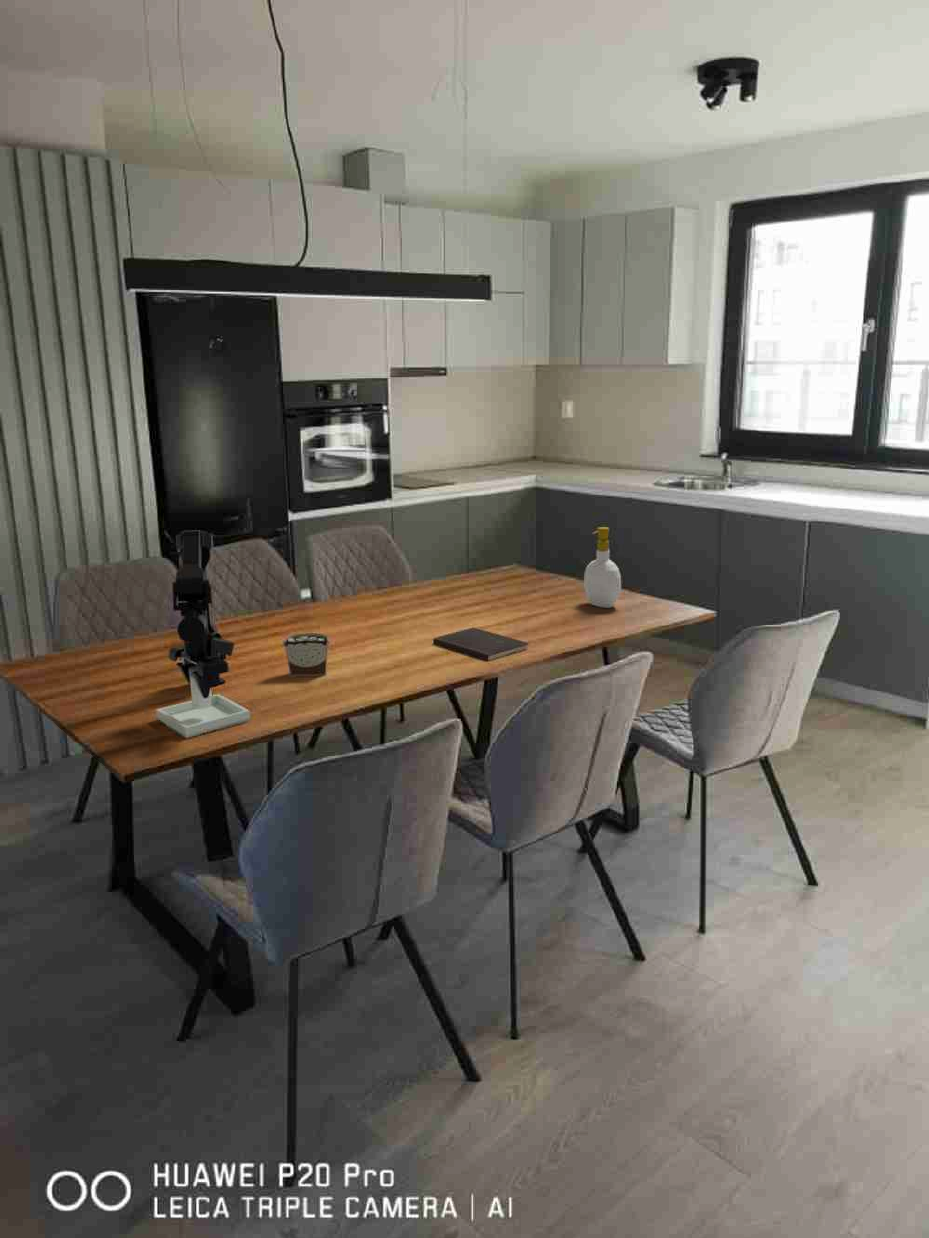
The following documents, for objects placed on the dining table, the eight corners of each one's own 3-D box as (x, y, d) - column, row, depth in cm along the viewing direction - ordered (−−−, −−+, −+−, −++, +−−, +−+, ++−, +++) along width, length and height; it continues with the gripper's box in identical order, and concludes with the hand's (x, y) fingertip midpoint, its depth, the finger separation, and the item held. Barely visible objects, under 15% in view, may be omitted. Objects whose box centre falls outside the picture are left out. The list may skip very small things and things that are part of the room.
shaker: (188, 705, 223) (185, 668, 220) (207, 700, 226) (203, 663, 223) (197, 710, 219) (193, 672, 217) (216, 705, 222) (212, 668, 220)
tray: (157, 719, 224) (156, 709, 224) (219, 703, 234) (218, 693, 233) (186, 738, 213) (185, 727, 212) (250, 720, 222) (249, 710, 222)
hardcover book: (473, 634, 290) (473, 627, 289) (528, 650, 273) (528, 642, 273) (433, 645, 280) (432, 638, 279) (487, 663, 263) (487, 655, 262)
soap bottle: (575, 604, 321) (576, 526, 314) (594, 599, 326) (595, 523, 319) (608, 612, 310) (609, 532, 303) (626, 607, 315) (628, 528, 308)
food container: (333, 667, 260) (331, 631, 257) (331, 674, 254) (329, 638, 251) (287, 668, 260) (285, 633, 257) (284, 676, 254) (282, 639, 251)
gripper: (247, 631, 216) (252, 697, 220) (209, 615, 230) (215, 677, 234) (200, 641, 209) (207, 709, 213) (164, 624, 223) (171, 688, 227)
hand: (201, 695), depth 222 cm, fingers closed on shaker, 4 cm apart
